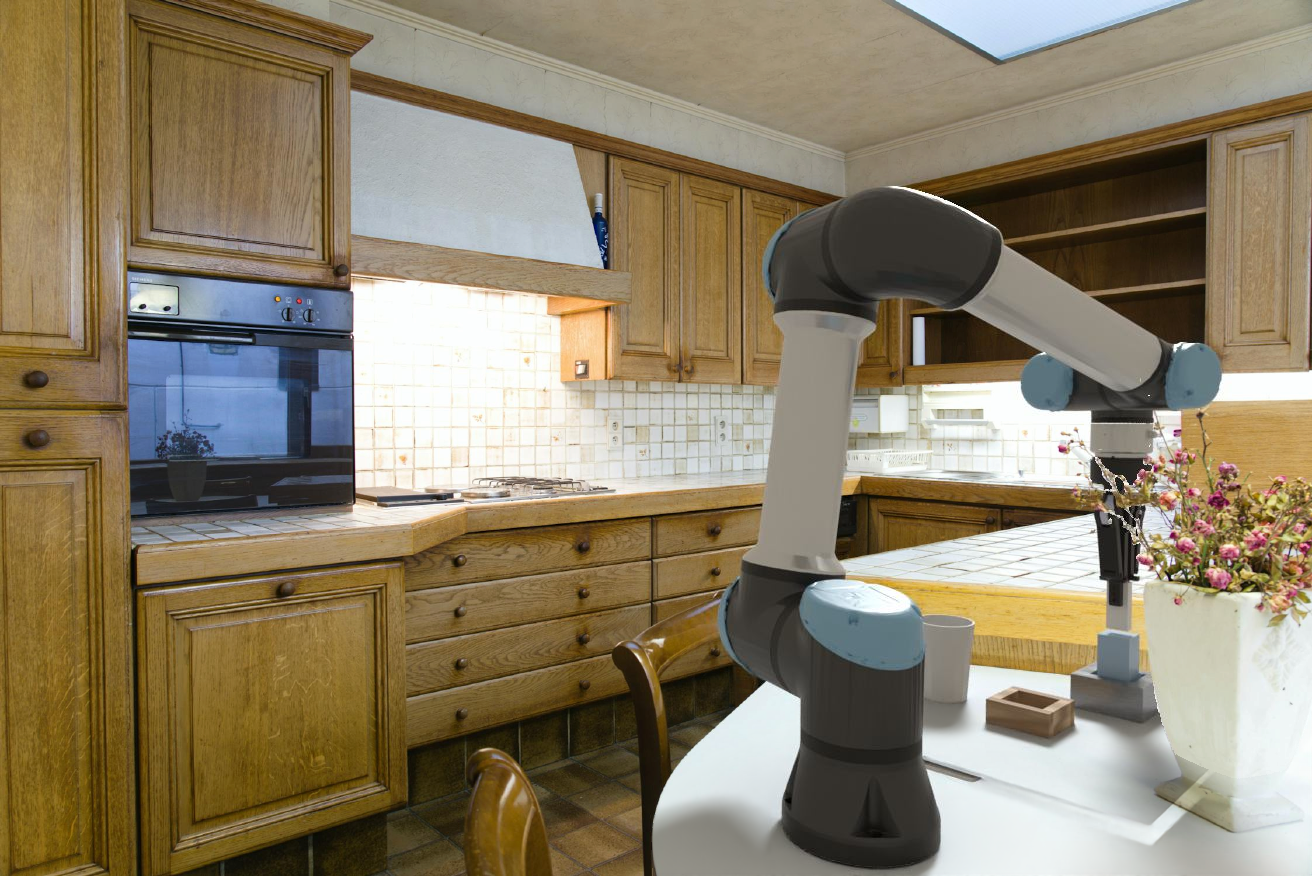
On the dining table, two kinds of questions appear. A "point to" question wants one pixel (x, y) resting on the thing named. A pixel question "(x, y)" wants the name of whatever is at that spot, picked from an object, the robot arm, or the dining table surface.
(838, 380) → the robot arm
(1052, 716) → the tan square frame
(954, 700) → the cup
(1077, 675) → the port
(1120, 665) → the plug
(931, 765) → the smartphone
